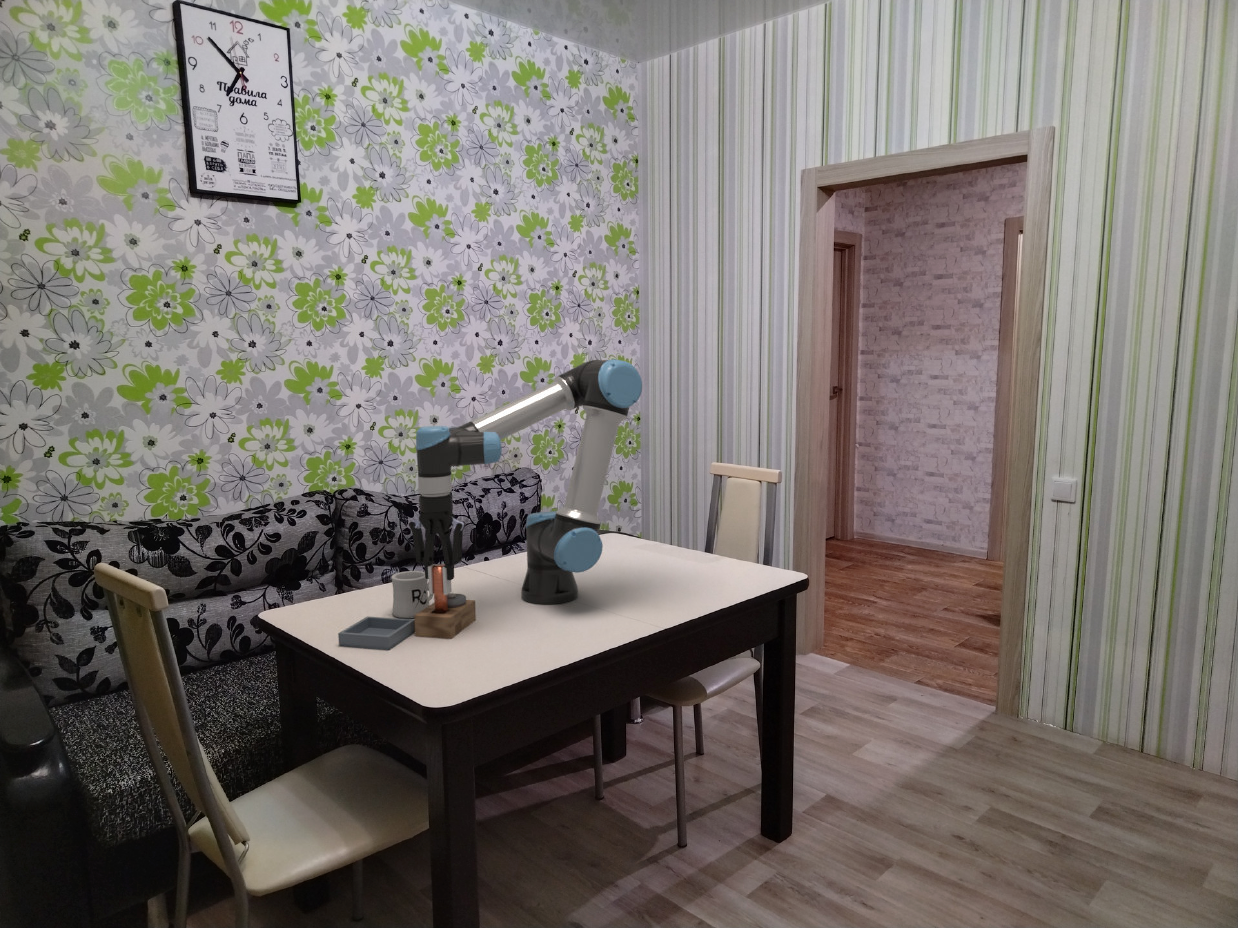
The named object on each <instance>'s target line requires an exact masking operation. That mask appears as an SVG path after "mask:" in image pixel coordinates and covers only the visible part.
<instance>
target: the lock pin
mask: <svg viewBox="0 0 1238 928" xmlns="http://www.w3.org/2000/svg"><path fill="white" fill-rule="evenodd" d="M444 565H445V563H444V564H443V563H440V564H436V565H434V566H433V585H434V594H433V600H434V601H433V603H434V605H435V614H445V613H446V612H448V602H447V595H444V591H443V571H442V567H444Z"/></svg>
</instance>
